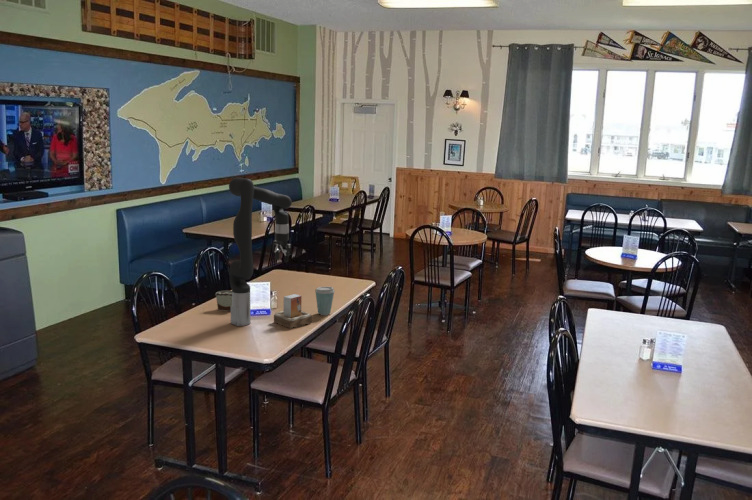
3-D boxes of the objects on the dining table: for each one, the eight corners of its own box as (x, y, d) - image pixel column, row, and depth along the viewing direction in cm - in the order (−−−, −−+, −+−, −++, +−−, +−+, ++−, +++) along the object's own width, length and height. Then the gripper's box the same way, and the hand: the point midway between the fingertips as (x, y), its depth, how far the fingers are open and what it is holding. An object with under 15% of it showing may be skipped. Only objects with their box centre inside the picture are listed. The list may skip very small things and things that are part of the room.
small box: (290, 318, 333) (290, 298, 331) (283, 315, 336) (283, 296, 334) (301, 314, 339) (301, 295, 337) (294, 312, 342) (294, 293, 340)
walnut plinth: (290, 328, 329) (290, 319, 328) (273, 322, 338) (273, 313, 337) (311, 323, 338) (311, 314, 337) (295, 317, 348) (295, 308, 347)
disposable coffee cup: (310, 314, 353) (311, 288, 350) (321, 309, 363) (321, 284, 360) (327, 317, 349) (327, 291, 346) (337, 312, 358) (338, 286, 355)
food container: (240, 308, 361) (240, 290, 359) (237, 311, 355) (236, 293, 353) (219, 306, 362) (218, 289, 360) (215, 310, 356) (215, 292, 354)
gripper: (268, 230, 353) (268, 259, 357) (284, 234, 343) (284, 264, 347) (279, 229, 358) (279, 257, 362) (295, 233, 348) (295, 262, 352)
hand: (281, 260), depth 354 cm, fingers open, 8 cm apart
